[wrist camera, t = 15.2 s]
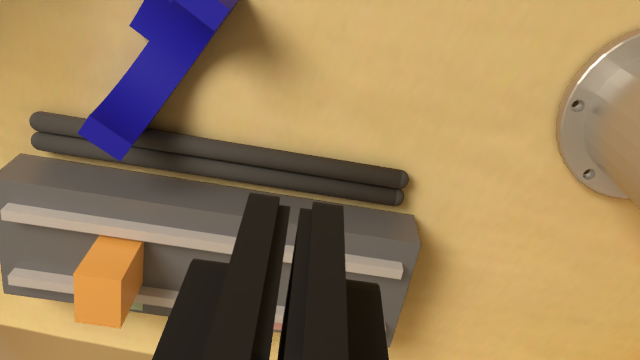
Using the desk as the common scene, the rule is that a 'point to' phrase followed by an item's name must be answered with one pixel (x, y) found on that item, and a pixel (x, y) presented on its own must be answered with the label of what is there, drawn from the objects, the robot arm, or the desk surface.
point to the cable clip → (154, 69)
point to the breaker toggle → (108, 281)
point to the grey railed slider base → (168, 232)
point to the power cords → (230, 161)
